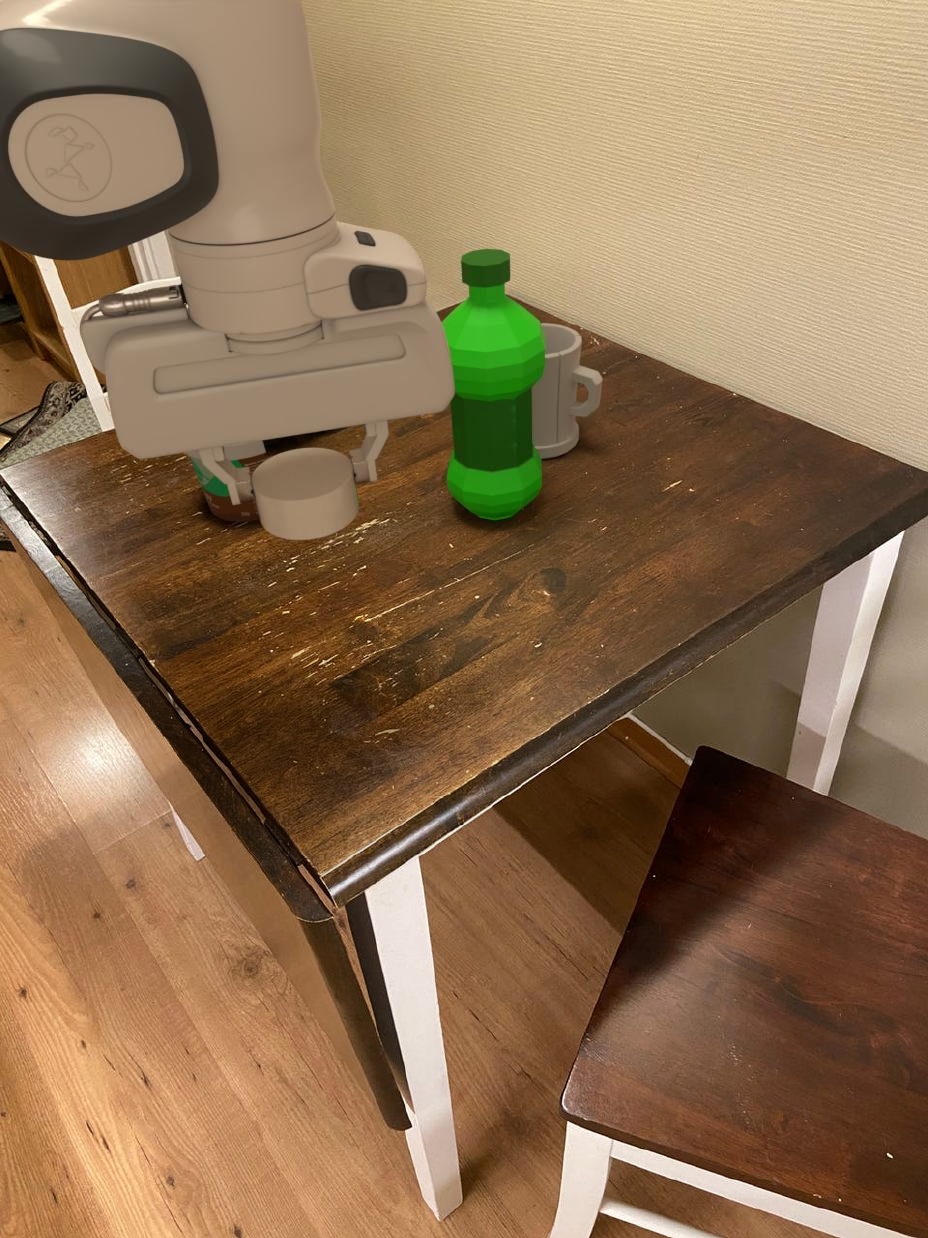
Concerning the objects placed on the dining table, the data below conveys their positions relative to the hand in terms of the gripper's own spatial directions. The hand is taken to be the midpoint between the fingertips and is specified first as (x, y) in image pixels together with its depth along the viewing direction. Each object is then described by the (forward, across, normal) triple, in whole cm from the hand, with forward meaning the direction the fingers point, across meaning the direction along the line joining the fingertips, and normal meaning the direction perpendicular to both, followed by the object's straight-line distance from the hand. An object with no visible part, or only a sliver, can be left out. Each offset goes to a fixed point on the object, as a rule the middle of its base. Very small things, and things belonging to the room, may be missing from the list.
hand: (306, 488), depth 58 cm
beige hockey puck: (+2, 0, 0) cm, 2 cm away
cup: (+20, +27, +35) cm, 49 cm away
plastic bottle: (+20, +18, +24) cm, 36 cm away
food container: (+20, -9, +33) cm, 39 cm away
